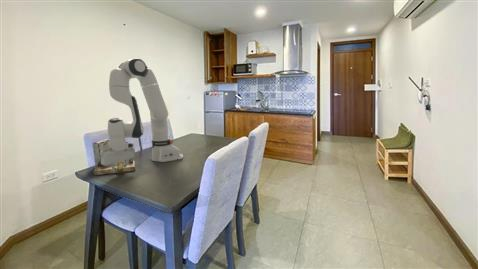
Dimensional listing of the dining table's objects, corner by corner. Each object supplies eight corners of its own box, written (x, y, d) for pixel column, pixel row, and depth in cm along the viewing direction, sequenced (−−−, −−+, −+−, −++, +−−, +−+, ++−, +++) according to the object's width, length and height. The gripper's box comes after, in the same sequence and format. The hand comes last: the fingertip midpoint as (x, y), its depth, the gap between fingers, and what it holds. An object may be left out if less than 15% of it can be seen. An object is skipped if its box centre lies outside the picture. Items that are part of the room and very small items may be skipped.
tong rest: (134, 164, 159) (134, 160, 158) (135, 170, 147) (134, 166, 147) (97, 168, 150) (96, 164, 150) (94, 175, 138) (93, 171, 138)
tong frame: (133, 161, 156) (132, 157, 156) (133, 163, 153) (132, 158, 153) (98, 165, 148) (98, 160, 148) (98, 166, 145) (97, 162, 145)
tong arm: (128, 162, 153) (128, 159, 153) (128, 163, 151) (128, 160, 151) (98, 165, 146) (98, 162, 146) (98, 166, 144) (97, 163, 144)
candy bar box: (107, 161, 163) (105, 138, 159) (113, 162, 162) (111, 139, 158) (94, 167, 152) (91, 142, 149) (101, 167, 151) (98, 143, 148)
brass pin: (123, 172, 144) (122, 161, 142) (123, 174, 141) (122, 163, 139) (117, 173, 142) (116, 162, 141) (117, 174, 139) (116, 163, 138)
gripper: (103, 151, 128) (106, 175, 130) (136, 143, 145) (137, 164, 148) (96, 149, 131) (99, 172, 133) (129, 142, 148) (131, 163, 151)
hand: (119, 168), depth 141 cm, fingers open, 6 cm apart
